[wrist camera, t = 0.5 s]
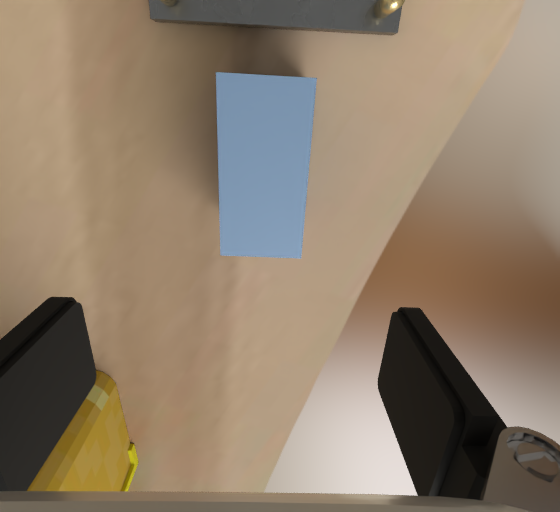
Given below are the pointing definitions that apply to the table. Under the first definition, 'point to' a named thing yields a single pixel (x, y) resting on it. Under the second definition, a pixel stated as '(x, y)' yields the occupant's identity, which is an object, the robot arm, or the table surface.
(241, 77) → the blue block
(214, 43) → the table surface
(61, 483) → the book
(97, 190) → the table surface
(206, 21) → the dowel plate
